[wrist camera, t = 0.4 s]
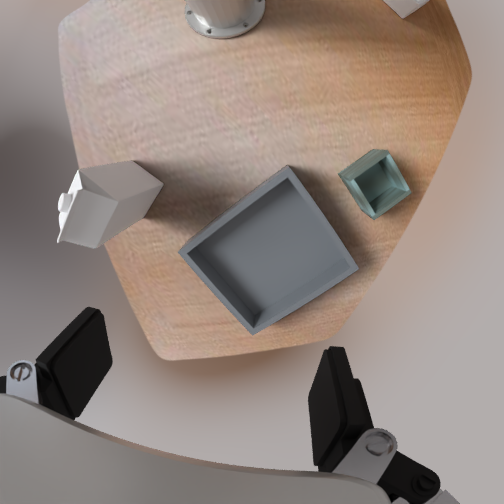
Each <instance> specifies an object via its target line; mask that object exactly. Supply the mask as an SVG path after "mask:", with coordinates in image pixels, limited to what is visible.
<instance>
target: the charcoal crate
mask: <svg viewBox="0 0 504 504" xmlns="http://www.w3.org/2000/svg"><path fill="white" fill-rule="evenodd" d="M178 253H179V254H180V255H181V257H182V258H183V259H184V260H185V261H186V262H187V264H188V265H189V266H190V267H191V268H192V269H193V271H194V272H195V273H196V274H197V275H198V276H199V277H200V279H201V280H202V281H203V282H204V283H205V284H206V285H207V286H208V288H209V289H210V290H211V291H212V292H213V293H214V294H215V295H216V297H217V298H218V299H219V300H220V301H221V302H222V303H223V304H224V305H225V306H226V308H227V309H228V310H229V311H230V312H231V313H232V314H233V315H234V316H235V317H236V318H237V320H238V321H239V322H240V323H241V324H242V325H243V326H244V327H245V328H246V329H247V330H248V331H249V332H250V333H251V334H252V335H254V334H256V333H258V332H259V331H261V330H263V329H265V328H266V327H268V326H270V325H271V324H273V323H275V322H277V321H278V320H280V319H282V318H283V317H285V316H287V315H288V314H290V313H292V312H293V311H295V310H296V309H298V308H300V307H301V306H303V305H305V304H306V303H308V302H309V301H311V300H313V299H314V298H316V297H317V296H319V295H320V294H322V293H324V292H325V291H327V290H328V289H330V288H331V287H333V286H334V285H336V284H337V283H339V282H340V281H342V280H343V279H345V278H346V277H348V276H349V275H351V274H352V273H354V272H355V271H357V270H358V269H359V268H358V266H357V265H356V263H355V261H354V260H353V258H352V257H351V255H350V254H349V252H348V250H347V249H346V247H345V246H344V244H343V243H342V241H341V240H340V238H339V237H338V235H337V234H336V232H335V231H334V229H333V228H332V226H331V225H330V223H329V222H328V220H327V219H326V217H325V216H324V214H323V213H322V212H321V210H320V209H319V207H318V206H317V204H316V203H315V202H314V200H313V199H312V197H311V196H310V195H309V193H308V192H307V190H306V189H305V188H304V186H303V185H302V183H301V182H300V181H299V179H298V178H297V177H296V175H295V174H294V173H293V171H292V170H291V169H290V167H289V166H288V165H286V166H285V167H284V168H282V169H281V170H279V171H278V172H277V173H275V174H274V175H273V176H271V177H270V178H268V179H267V180H266V181H264V182H263V183H262V184H260V185H259V186H258V187H256V188H255V189H254V190H252V191H251V192H250V193H248V194H247V195H246V196H244V197H243V198H242V199H240V200H239V201H238V202H236V203H235V204H234V205H233V206H231V207H230V208H229V209H227V210H226V211H225V212H224V213H222V214H221V215H220V216H218V217H217V218H216V219H215V220H213V221H212V222H211V223H209V224H208V225H207V226H206V227H204V228H203V229H202V230H201V231H199V232H198V233H197V234H196V235H194V236H193V237H192V238H191V239H189V240H188V241H187V242H186V243H185V244H184V245H183V247H182V248H181V249H180V250H179V251H178Z"/></svg>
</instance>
